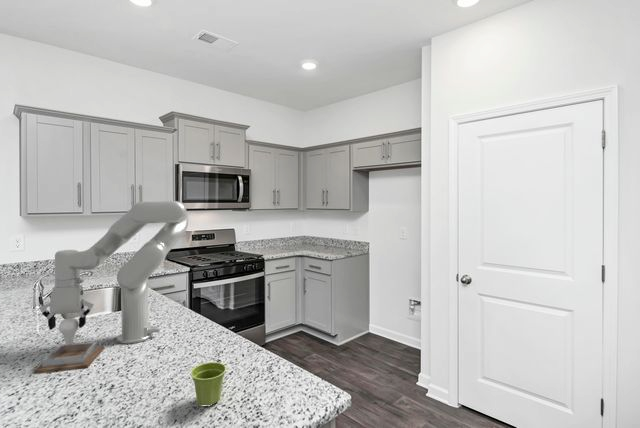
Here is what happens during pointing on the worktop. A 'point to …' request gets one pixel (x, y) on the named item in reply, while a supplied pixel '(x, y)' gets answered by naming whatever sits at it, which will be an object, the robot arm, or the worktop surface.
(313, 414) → the worktop surface
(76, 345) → the square picture frame
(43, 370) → the socket base
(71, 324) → the lightbulb
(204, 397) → the plant pot
